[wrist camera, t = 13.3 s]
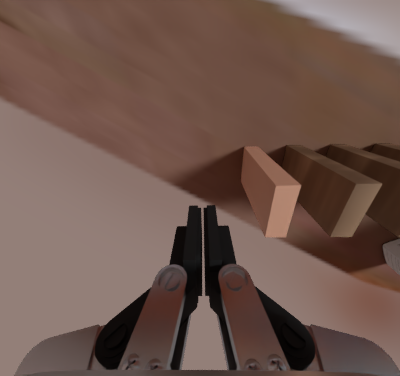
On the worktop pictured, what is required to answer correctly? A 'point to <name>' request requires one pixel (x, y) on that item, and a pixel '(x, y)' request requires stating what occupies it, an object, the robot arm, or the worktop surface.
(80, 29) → the worktop surface
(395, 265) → the skincare box
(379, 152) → the domino
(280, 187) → the end tile
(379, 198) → the domino
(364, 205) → the domino
